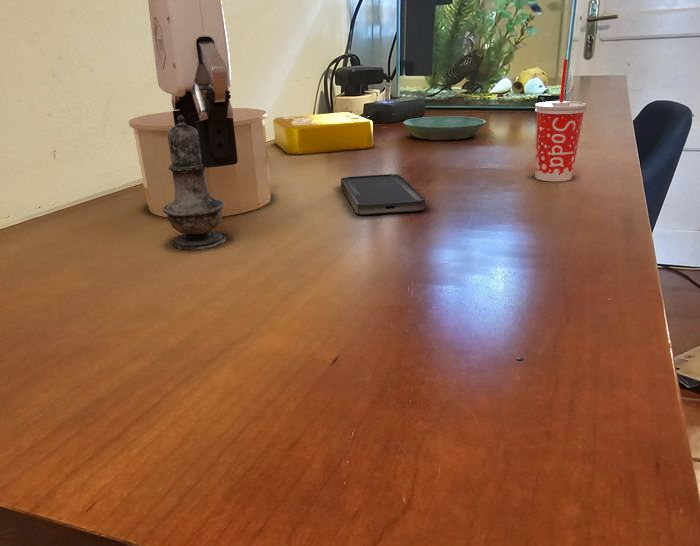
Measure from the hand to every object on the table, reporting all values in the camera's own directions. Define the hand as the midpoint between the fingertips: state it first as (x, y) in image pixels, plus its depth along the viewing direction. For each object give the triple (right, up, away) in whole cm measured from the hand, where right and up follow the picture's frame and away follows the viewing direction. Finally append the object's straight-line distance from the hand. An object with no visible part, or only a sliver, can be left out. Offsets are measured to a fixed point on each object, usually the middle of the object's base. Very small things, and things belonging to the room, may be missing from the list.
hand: (206, 157), depth 62 cm
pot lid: (-3, +8, +12) cm, 14 cm away
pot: (-3, -1, +16) cm, 16 cm away
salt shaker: (-1, -8, +2) cm, 8 cm away
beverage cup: (+40, +4, +21) cm, 46 cm away
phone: (+17, -1, +15) cm, 23 cm away
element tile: (+9, +17, +51) cm, 54 cm away
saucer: (+31, +20, +55) cm, 66 cm away
